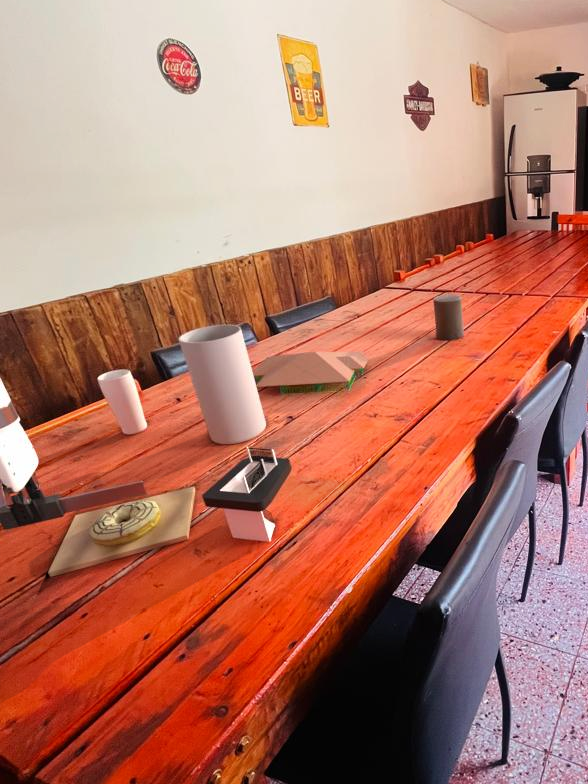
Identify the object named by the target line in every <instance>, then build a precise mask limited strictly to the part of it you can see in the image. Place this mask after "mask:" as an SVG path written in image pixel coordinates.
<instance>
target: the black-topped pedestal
mask: <svg viewBox="0 0 588 784" xmlns="http://www.w3.org/2000/svg"><path fill="white" fill-rule="evenodd" d="M246 452H247V455H248V457H246V458H244V459H242V460H240V461H239V462H238V463H237V464H235V465H234V467H232V468H230V470H228V472H226V473H225V474H224V475H223V476H222V477H221V478H220V479H218V480H217V481H216V482H215V483H214V484H213V485H211V487H209V488H208V489H207V490H206V491H205V492H203V494H201V497H202V500H203V504H204V506H205V507H206V508H214V509H222V510H223V512H224V515H225V518H226V522H227V524H228V528H229V531H230V534H231V537H232V538H234V539H241V540H242V539H243V540H250V541H261V542H267V543H270V542H271V541H272V536H273V533H274V529H275V527H276V524H275V522H274V519H273V513H272V512H271V511H268V510H267V508H268V507H269V506H270V505H271V504H272V503H273V501H274V499H275V498H276V496H277V494H278V493H279V491H280V490H281V488H282V487H283V485H284V483H285V482H286V480H287V478H288V477H289V475H290V474H291V472H292V470H293V468H292V465H291V461H290V459H289V458H285V457H276V453H275V449H273V448H259V447H249V446H246Z"/></svg>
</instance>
